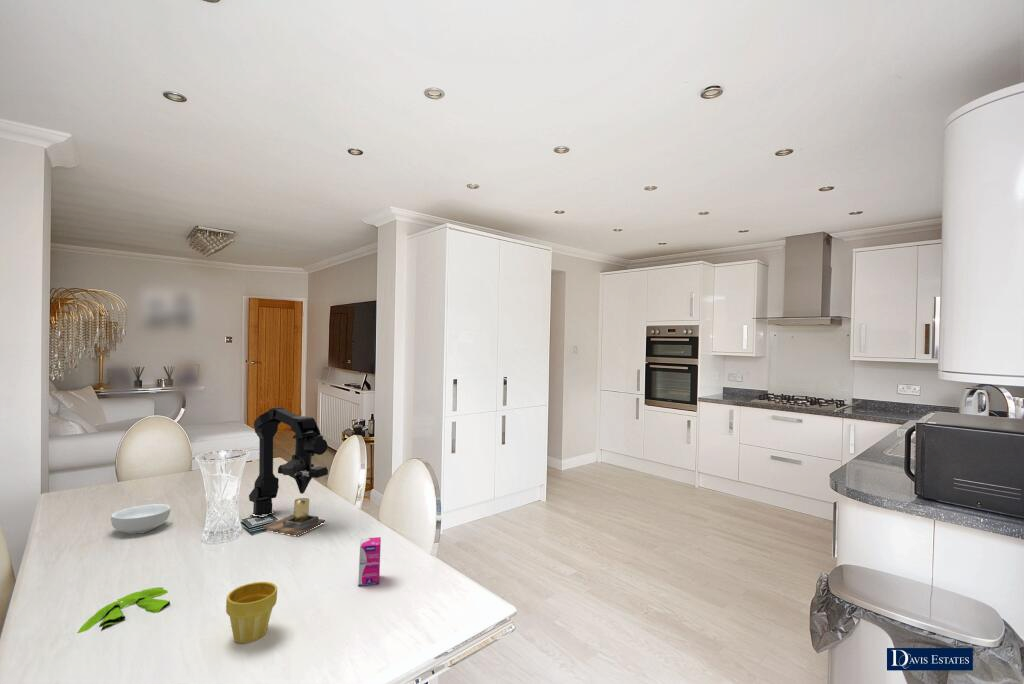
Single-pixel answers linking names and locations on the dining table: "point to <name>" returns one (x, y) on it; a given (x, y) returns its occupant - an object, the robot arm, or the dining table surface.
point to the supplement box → (369, 561)
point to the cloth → (129, 600)
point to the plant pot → (251, 610)
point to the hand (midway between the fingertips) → (302, 493)
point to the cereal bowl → (140, 518)
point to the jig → (293, 525)
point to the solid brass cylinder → (301, 510)
